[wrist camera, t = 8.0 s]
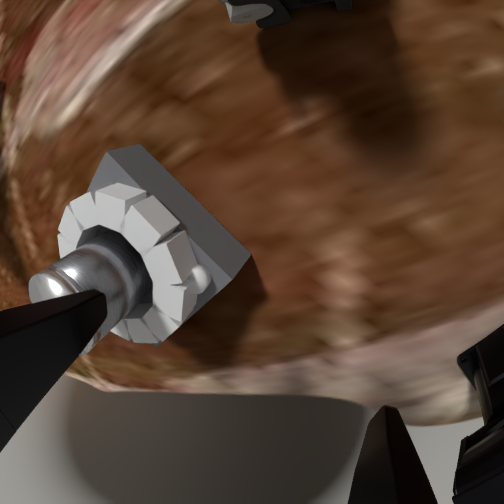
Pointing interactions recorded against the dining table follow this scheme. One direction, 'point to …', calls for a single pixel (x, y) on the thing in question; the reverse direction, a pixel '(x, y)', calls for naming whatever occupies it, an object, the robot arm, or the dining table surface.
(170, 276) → the segmented white collar
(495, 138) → the dining table surface
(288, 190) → the dining table surface
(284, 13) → the scope
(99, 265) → the door knob
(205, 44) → the dining table surface
